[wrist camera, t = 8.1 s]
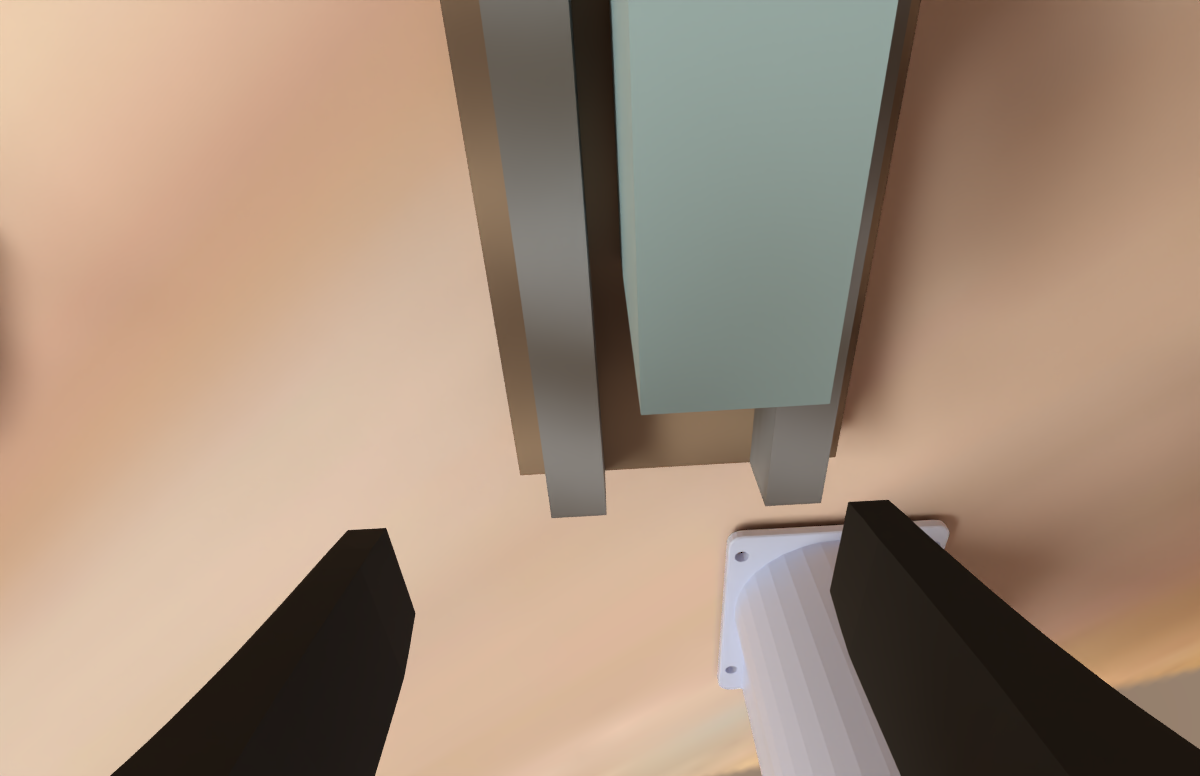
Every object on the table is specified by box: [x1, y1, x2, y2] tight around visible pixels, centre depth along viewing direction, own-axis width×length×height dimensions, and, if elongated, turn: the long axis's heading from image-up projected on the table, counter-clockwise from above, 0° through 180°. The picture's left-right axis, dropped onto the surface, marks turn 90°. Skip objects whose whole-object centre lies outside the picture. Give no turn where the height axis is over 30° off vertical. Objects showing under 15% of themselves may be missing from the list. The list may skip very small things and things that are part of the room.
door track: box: [440, 0, 921, 518], centre depth 13 cm, size 22×10×3 cm, turn 3°
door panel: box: [609, 0, 898, 415], centre depth 10 cm, size 10×3×7 cm, turn 4°
